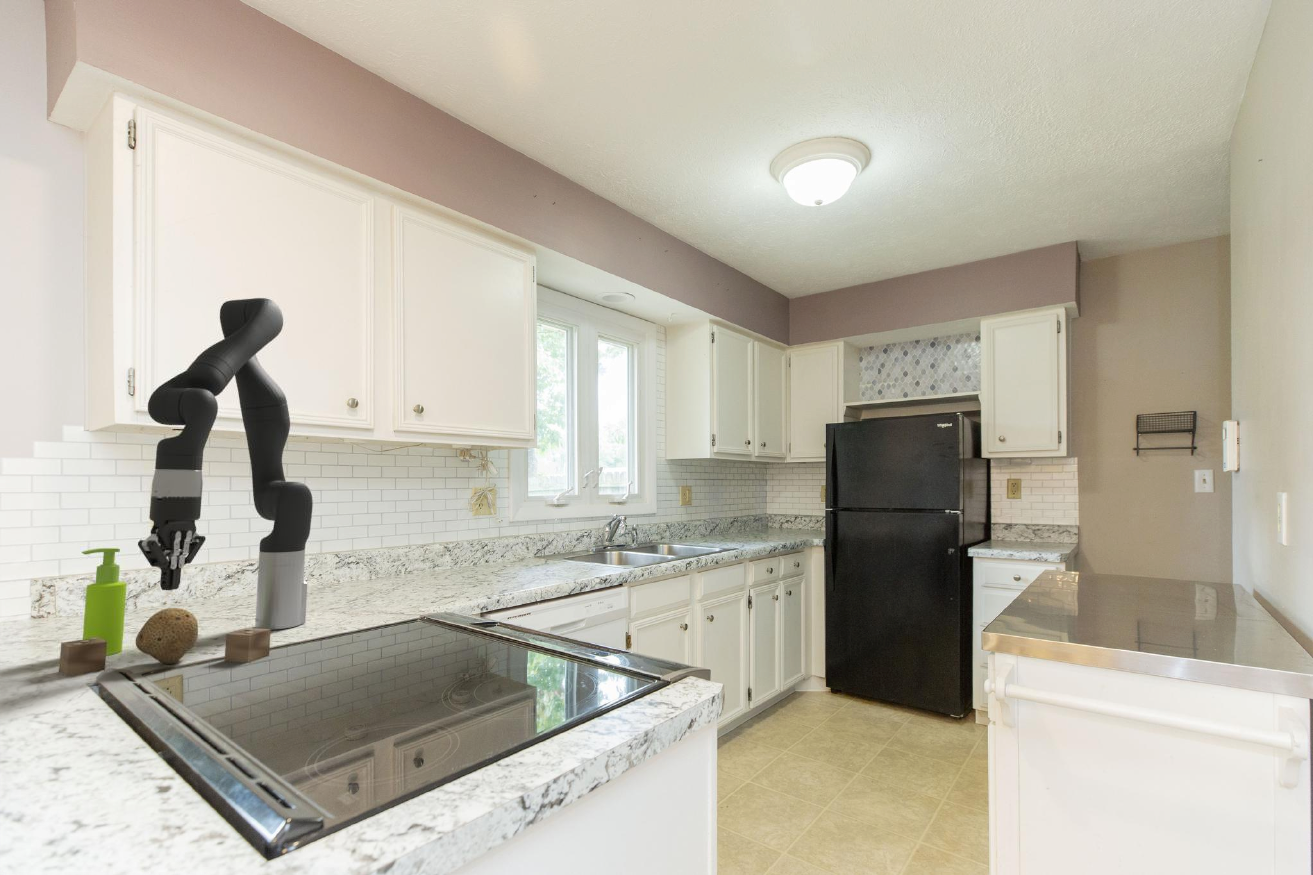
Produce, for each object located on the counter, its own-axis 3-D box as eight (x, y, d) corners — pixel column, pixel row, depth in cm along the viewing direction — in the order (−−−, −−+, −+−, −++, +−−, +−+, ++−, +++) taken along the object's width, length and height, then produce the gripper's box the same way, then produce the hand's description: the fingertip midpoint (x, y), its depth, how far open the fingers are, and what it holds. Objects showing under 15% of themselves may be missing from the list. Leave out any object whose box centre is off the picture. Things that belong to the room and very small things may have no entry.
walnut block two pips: (246, 654, 122) (248, 627, 123) (269, 655, 121) (270, 628, 122) (224, 661, 117) (226, 633, 118) (247, 663, 116) (249, 634, 117)
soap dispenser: (70, 654, 121) (79, 548, 122) (117, 647, 126) (124, 546, 128) (77, 660, 117) (86, 550, 119) (125, 652, 122) (132, 548, 124)
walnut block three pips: (96, 665, 114) (98, 636, 114) (104, 670, 111) (107, 640, 111) (58, 672, 110) (61, 641, 110) (66, 677, 107) (69, 646, 107)
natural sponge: (123, 672, 110) (127, 613, 110) (149, 659, 118) (152, 604, 119) (184, 668, 112) (187, 611, 113) (205, 655, 121) (208, 602, 121)
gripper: (186, 494, 124) (179, 584, 123) (125, 494, 111) (117, 594, 110) (222, 494, 124) (216, 584, 122) (166, 495, 111) (158, 595, 109)
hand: (169, 589), depth 116 cm, fingers closed
